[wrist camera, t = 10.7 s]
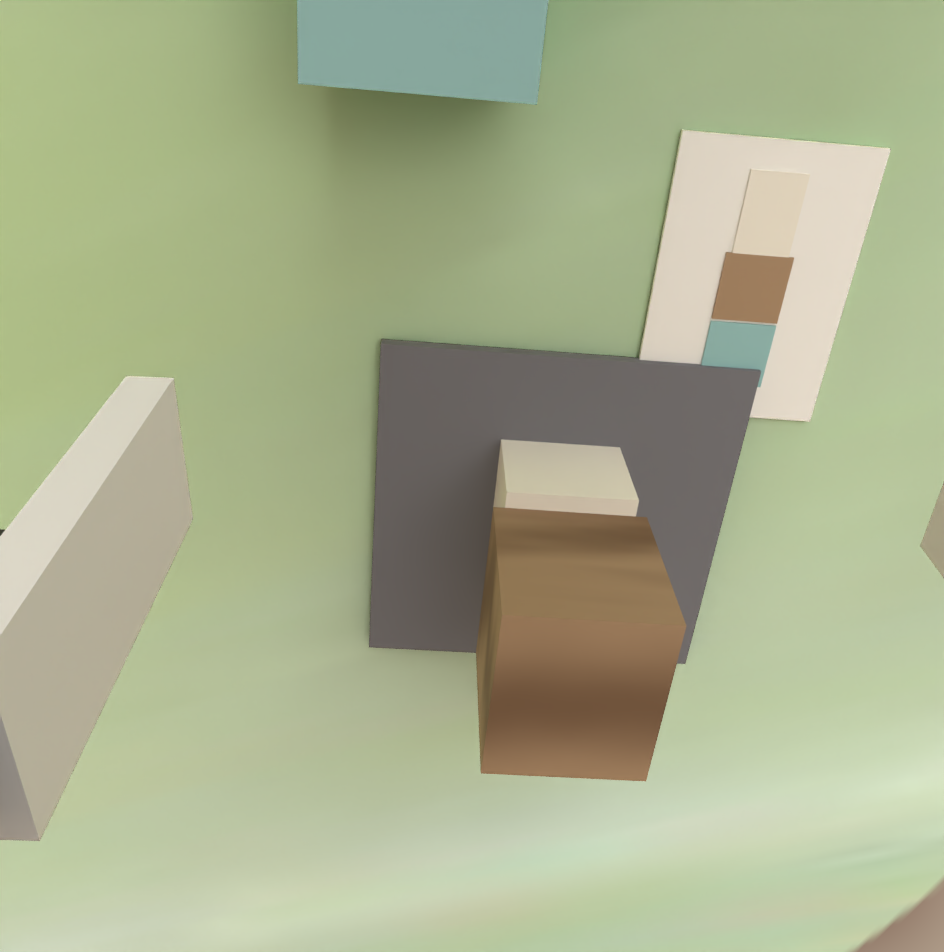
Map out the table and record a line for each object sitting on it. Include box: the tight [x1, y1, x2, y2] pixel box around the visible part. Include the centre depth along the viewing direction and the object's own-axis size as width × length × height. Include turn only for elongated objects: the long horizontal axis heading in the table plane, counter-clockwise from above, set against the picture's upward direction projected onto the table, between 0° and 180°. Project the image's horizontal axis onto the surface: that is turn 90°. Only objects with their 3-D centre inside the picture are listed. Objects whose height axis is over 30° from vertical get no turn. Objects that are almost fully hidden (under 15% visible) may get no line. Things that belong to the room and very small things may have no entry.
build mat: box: [369, 339, 761, 664], centre depth 35 cm, size 14×14×4 cm
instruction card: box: [639, 130, 891, 422], centre depth 32 cm, size 10×7×1 cm
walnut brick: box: [476, 507, 686, 781], centre depth 30 cm, size 6×5×6 cm
